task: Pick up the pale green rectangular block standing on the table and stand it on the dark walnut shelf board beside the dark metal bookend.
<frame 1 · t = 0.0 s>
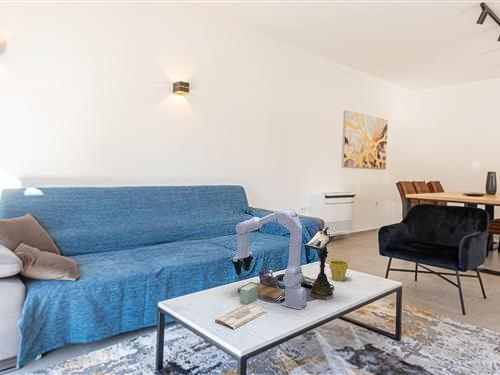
hand: (242, 272, 181), 10 cm above the table, tool pointing down, fingers open, 7 cm apart
game card: (264, 282, 198), on the table
plant pot: (337, 279, 205), on the table
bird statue: (319, 297, 177), on the table
pale green rectangular block: (248, 301, 170), on the table
shelf board: (262, 292, 182), on the table
newspaper: (239, 318, 153), on the table
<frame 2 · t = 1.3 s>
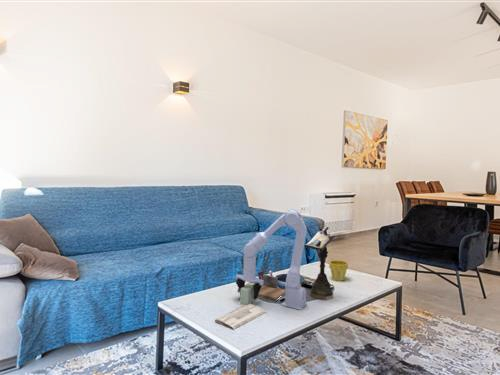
hand: (248, 296, 170), 2 cm above the table, tool pointing down, fingers open, 7 cm apart
game card: (264, 283, 197), on the table
everything else where it was.
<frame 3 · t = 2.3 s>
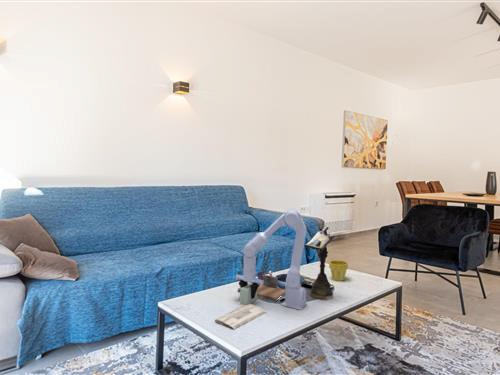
hand: (248, 297, 170), 2 cm above the table, tool pointing down, fingers closed on pale green rectangular block, 4 cm apart
pale green rectangular block: (248, 300, 170), on the table, touching gripper
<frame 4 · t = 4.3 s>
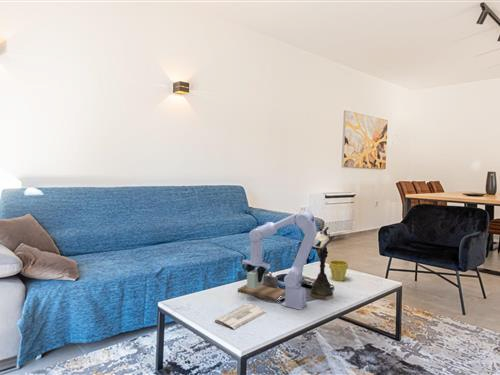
hand: (255, 280, 174), 8 cm above the table, tool pointing down, fingers closed on pale green rectangular block, 4 cm apart
pale green rectangular block: (255, 285, 174), point 6 cm above the table, touching gripper
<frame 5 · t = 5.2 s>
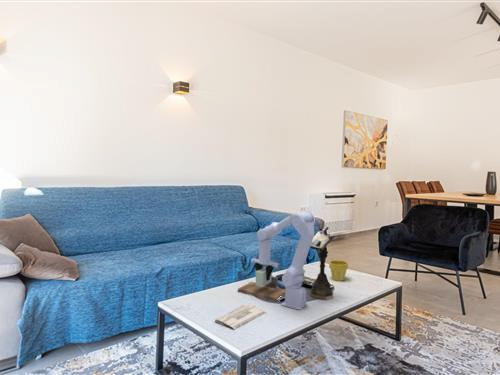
hand: (264, 279, 180), 7 cm above the table, tool pointing down, fingers closed on pale green rectangular block, 4 cm apart
pale green rectangular block: (263, 283, 180), point 5 cm above the table, touching gripper
when the fingers open (5 cm above the table, at t = 6.1 s): pale green rectangular block drops 1 cm, resting on shelf board.
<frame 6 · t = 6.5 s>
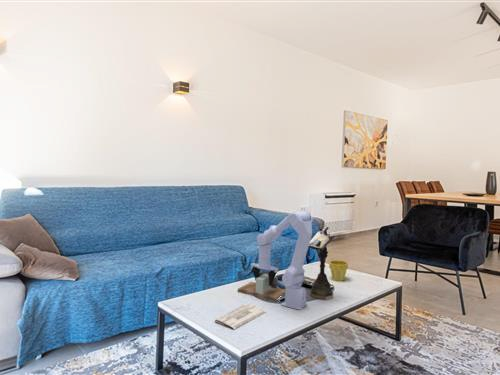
hand: (263, 283, 180), 5 cm above the table, tool pointing down, fingers open, 7 cm apart
pale green rectangular block: (263, 290, 180), point 1 cm above the table, touching shelf board
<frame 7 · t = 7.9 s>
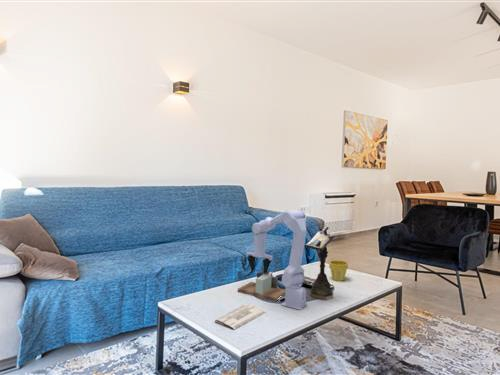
hand: (259, 271, 185), 9 cm above the table, tool pointing down, fingers open, 7 cm apart
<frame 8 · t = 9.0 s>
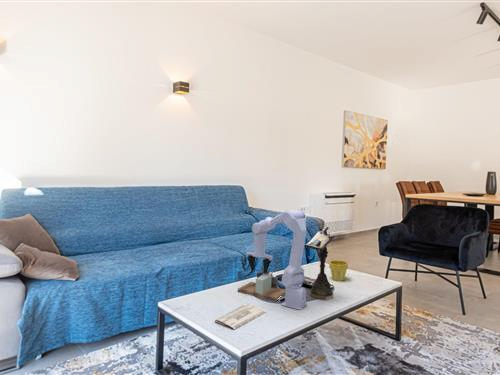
hand: (259, 271, 185), 9 cm above the table, tool pointing down, fingers open, 7 cm apart
at the end: pale green rectangular block inside the target area (0.6 cm from its centre), point 1.5 cm above the table; pale green rectangular block tilted 0°; the gripper is holding nothing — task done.
